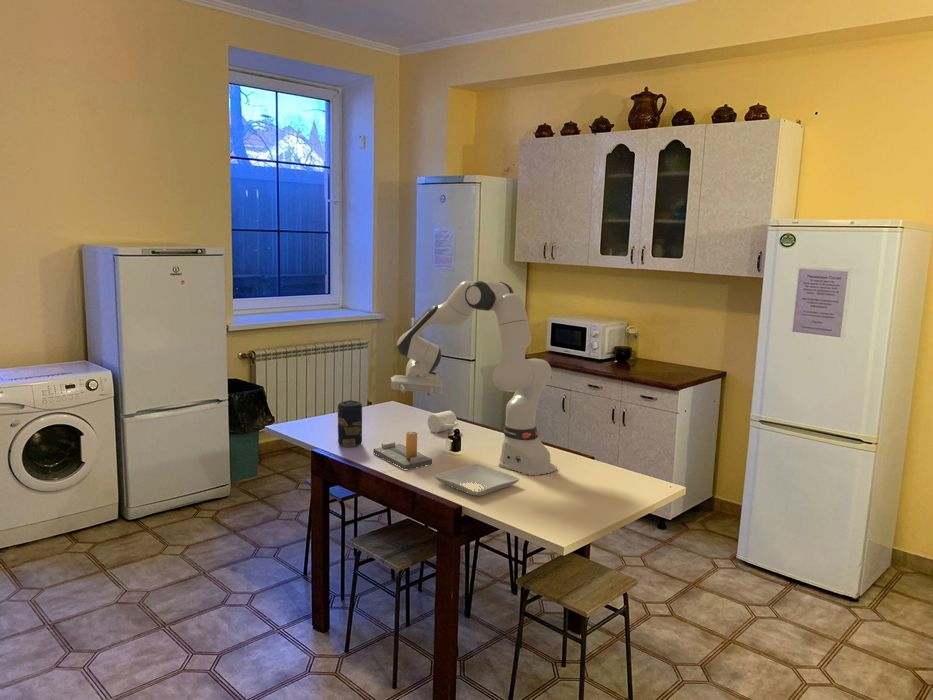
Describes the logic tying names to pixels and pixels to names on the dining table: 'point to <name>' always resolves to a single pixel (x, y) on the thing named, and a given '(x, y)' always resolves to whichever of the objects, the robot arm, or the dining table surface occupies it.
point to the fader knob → (411, 445)
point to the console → (401, 456)
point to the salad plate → (477, 478)
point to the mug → (442, 421)
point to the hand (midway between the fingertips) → (417, 392)
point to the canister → (349, 423)
